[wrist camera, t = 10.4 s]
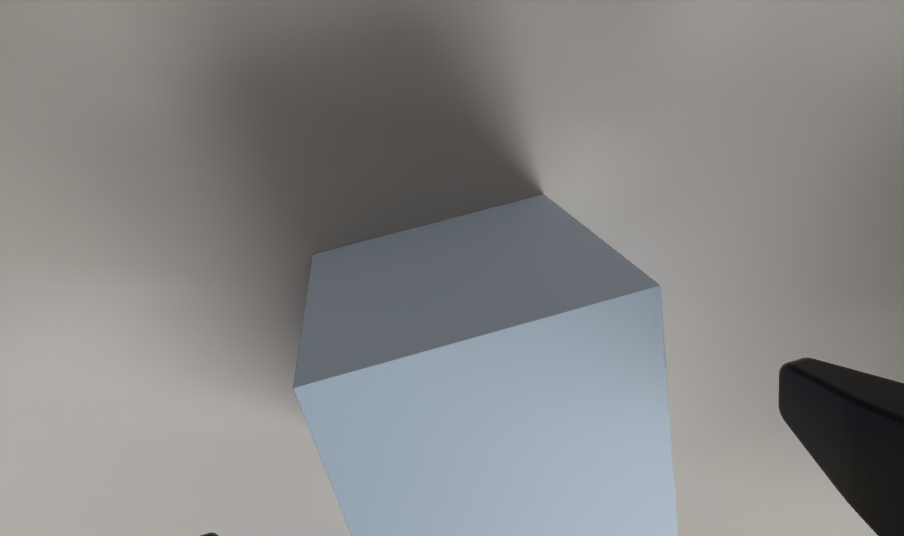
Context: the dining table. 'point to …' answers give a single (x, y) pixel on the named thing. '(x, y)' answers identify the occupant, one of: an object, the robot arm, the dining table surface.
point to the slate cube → (489, 380)
